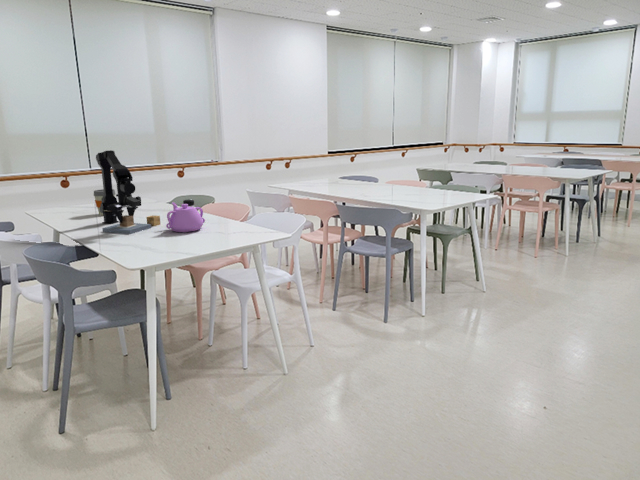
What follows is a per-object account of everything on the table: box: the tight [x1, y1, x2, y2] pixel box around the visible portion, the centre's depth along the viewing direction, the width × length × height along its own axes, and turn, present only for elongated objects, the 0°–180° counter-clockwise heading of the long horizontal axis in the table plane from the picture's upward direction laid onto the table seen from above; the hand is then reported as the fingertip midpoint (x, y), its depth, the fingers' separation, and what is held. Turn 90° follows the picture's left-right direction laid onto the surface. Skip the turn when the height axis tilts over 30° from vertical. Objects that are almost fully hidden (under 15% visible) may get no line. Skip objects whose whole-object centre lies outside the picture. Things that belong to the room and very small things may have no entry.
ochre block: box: [146, 215, 161, 227], centre depth 273 cm, size 5×5×5 cm
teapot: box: [165, 201, 206, 233], centre depth 258 cm, size 22×22×14 cm
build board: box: [102, 222, 152, 235], centre depth 261 cm, size 18×16×2 cm
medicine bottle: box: [182, 198, 199, 212], centre depth 284 cm, size 7×7×12 cm
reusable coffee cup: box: [93, 188, 116, 216], centre depth 308 cm, size 12×12×15 cm
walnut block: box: [118, 214, 135, 227], centre depth 260 cm, size 5×5×5 cm
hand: (126, 221), depth 260 cm, fingers open, 7 cm apart
